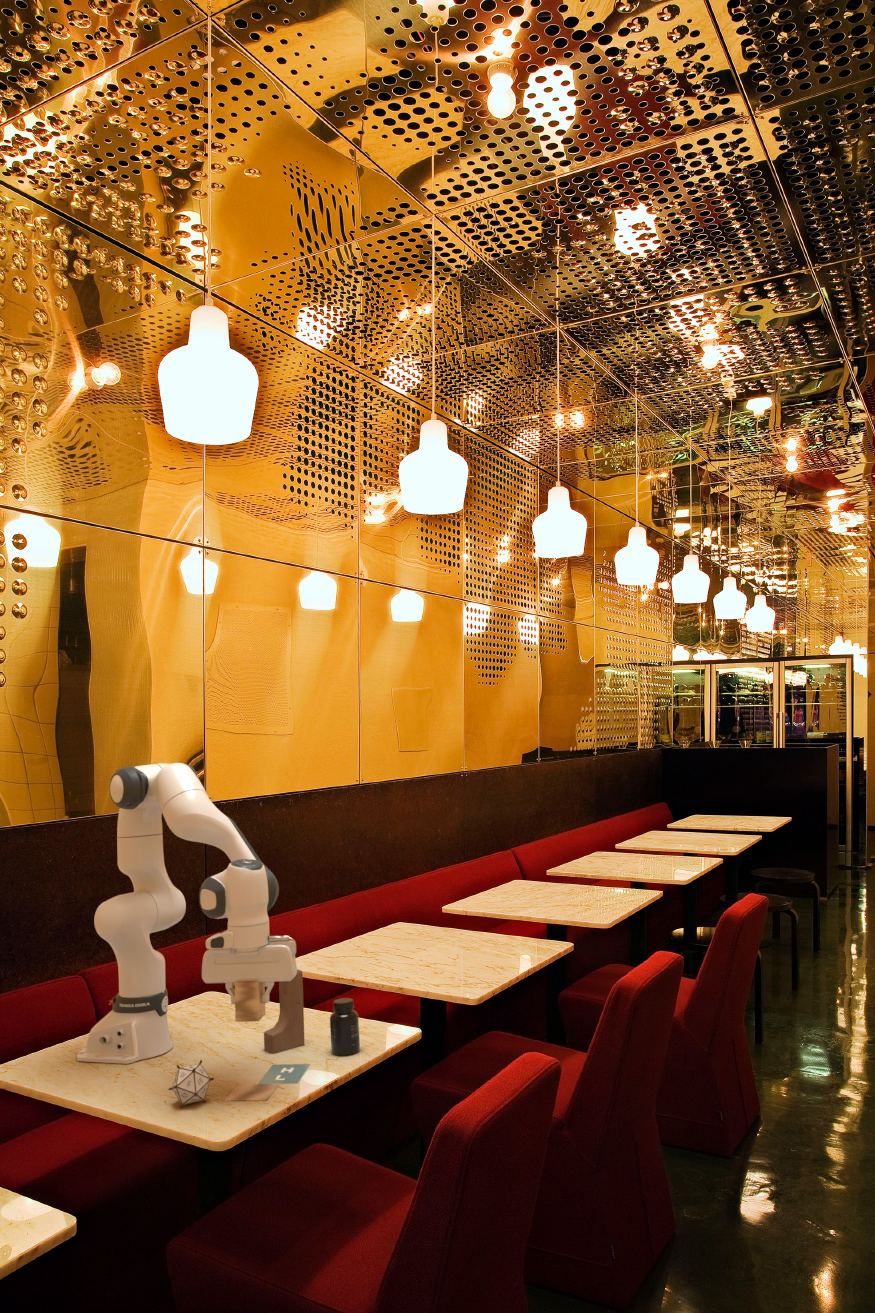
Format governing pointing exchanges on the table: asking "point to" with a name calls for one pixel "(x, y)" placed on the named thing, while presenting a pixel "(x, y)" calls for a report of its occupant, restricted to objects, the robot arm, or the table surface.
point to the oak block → (249, 1001)
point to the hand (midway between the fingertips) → (250, 1003)
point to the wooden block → (288, 1018)
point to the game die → (191, 1084)
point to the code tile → (284, 1074)
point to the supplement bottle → (344, 1028)
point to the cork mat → (251, 1092)
